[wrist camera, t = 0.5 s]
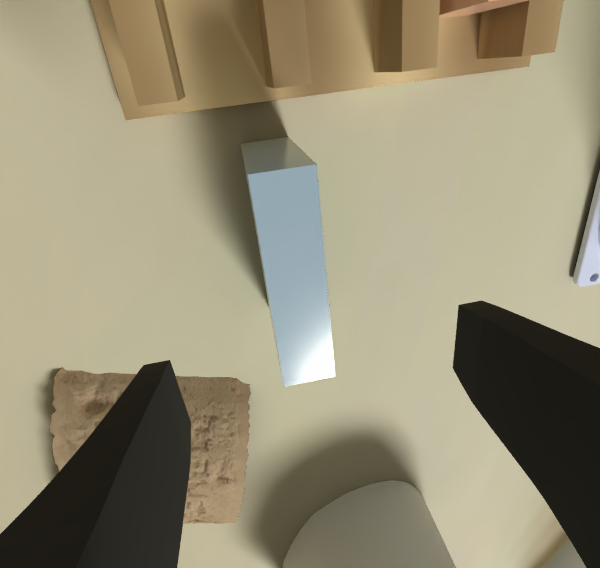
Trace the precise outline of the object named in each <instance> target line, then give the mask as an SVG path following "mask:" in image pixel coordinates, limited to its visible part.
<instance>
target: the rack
mask: <svg viewBox="0 0 600 568" xmlns="http://www.w3.org/2000/svg"><path fill="white" fill-rule="evenodd" d="M563 1H564V0H528V1H524V2H520V3H516V4H512V5H508V6H504V7H500V8H496V9H492V10H488V11H484V12H479V13H475V14H471V15H466V16H457V17H449V18H440V19H439V11H440V0H90V2H91V5H92V8H93V12H94V15H95V18H96V22H97V25H98V29H99V32H100V35H101V39H102V42H103V45H104V49H105V52H106V55H107V59H108V62H109V66H110V69H111V72H112V76H113V79H114V82H115V86H116V89H117V92H118V96H119V99H120V103H121V106H122V109H123V113H124V116H125V119H126V120H130V119H137V118H145V117H152V116H160V115H167V114H175V113H182V112H190V111H197V110H205V109H212V108H220V107H228V106H235V105H243V104H250V103H258V102H265V101H273V100H280V99H288V98H295V97H303V96H310V95H318V94H325V93H333V92H340V91H348V90H355V89H363V88H370V87H378V86H385V85H393V84H400V83H408V82H416V81H423V80H431V79H438V78H446V77H453V76H461V75H468V74H476V73H483V72H491V71H498V70H506V69H513V68H521V67H528V66H529V64H530V57H531V55H536V54H544V53H552V52H555V48H556V42H557V36H558V30H559V24H560V19H561V13H562V7H563Z"/></svg>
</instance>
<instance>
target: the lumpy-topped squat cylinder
mask: <svg viewBox="0 0 600 568" xmlns="http://www.w3.org/2000/svg"><path fill="white" fill-rule="evenodd" d="M283 568H456V567H455V565H454V563H453V560H452V558H451V556H450V554H449V552H448V550H447V548H446V545H445V543H444V541H443V539H442V537H441V535H440V533H439V531H438V528H437V526H436V524H435V522H434V520H433V518H432V516H431V514H430V511H429V509H428V507H427V505H426V503H425V501H424V499H423V497H422V495H421V494H420V492H419V491H418V490H417V489H416V488H415V487H414V486H413V485H411V484H409V483H407V482H403V481H394V480H391V481H382V482H377V483H373V484H369V485H366V486H363V487H360V488H358V489H355V490H352V491H350V492H348V493H346V494H344V495H342V496H341V497H339V498H337V499H336V500H334V501H332V502H331V503H329V504H328V505H326V506H324V507H323V508H321V509H320V510H319V511H317V512H316V513H314V514H313V515H312V516H311V517H310V518H309V519H308V521H307V522H306V523H305V524H304V526H303V527H302V529H301V530H300V531H299V533H298V534H297V536H296V538H295V539H294V541H293V542H292V544H291V546H290V548H289V551H288V553H287V555H286V557H285V559H284V562H283Z"/></svg>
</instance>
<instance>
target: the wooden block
mask: <svg viewBox="0 0 600 568" xmlns="http://www.w3.org/2000/svg"><path fill="white" fill-rule="evenodd" d="M524 1H528V0H440V11H439V19H440V18H449V17H457V16H466V15H471V14H475V13H479V12H484V11H488V10H492V9H496V8H500V7H504V6H508V5H512V4H516V3H520V2H524Z"/></svg>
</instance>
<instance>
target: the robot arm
mask: <svg viewBox="0 0 600 568" xmlns="http://www.w3.org/2000/svg"><path fill="white" fill-rule="evenodd" d="M573 282H574V283H575V284H577V285H578V286H580V287H584V286H589V285H594V284H599V283H600V171H599V175H598V179H597V183H596V187H595V191H594V195H593V199H592V203H591V207H590V211H589V215H588V219H587V223H586V227H585V232H584V236H583V240H582V244H581V248H580V252H579V256H578V260H577V264H576V268H575V272H574V276H573ZM453 369H454V371H455V373H456V375H457V377H458V378H459V380H460V382H461V384H462V386H463V387H464V389H465V391H466V393H467V394H468V396H469V398H470V399H471V401H472V403H473V404H474V405H475V407H476V408H477V409H478V411H479V412H480V414H481V415H482V416H483V418H484V419H485V420H486V422H487V423H488V424H489V426H490V427H491V428H492V430H493V431H494V432H495V433H496V435H497V436H498V437H499V439H500V440H501V441H502V443H503V444H504V445H505V447H506V448H507V449H508V451H509V452H510V453H511V454H512V456H513V457H514V458H515V460H516V461H517V462H518V464H519V465H520V466H521V468H522V469H523V470H524V471H525V473H526V474H527V475H528V477H529V478H530V479H531V481H532V482H533V484H534V485H535V486H536V488H537V489H538V491H539V492H540V493H541V495H542V496H543V498H544V499H545V501H546V502H547V504H548V505H549V507H550V509H551V510H552V512H553V513H554V515H555V517H556V518H557V520H558V521H559V523H560V525H561V526H562V528H563V529H564V531H565V533H566V534H567V536H568V537H569V539H570V541H571V542H572V544H573V545H574V547H575V549H576V551H577V552H578V554H579V556H580V557H581V559H582V561H583V562H584V564H585V566H586V567H587V568H600V348H598V347H595V346H593V345H590V344H588V343H585V342H583V341H580V340H577V339H575V338H573V337H570V336H568V335H565V334H563V333H560V332H558V331H556V330H553V329H551V328H548V327H546V326H544V325H541V324H539V323H537V322H534V321H532V320H529V319H527V318H525V317H522V316H520V315H518V314H515V313H513V312H510V311H508V310H506V309H503V308H501V307H498V306H495V305H493V304H490V303H487V302H484V301H477V302H472V303H467V304H462V305H459V308H458V319H457V330H456V340H455V351H454V361H453ZM190 464H191V421H190V418H189V415H188V412H187V409H186V406H185V403H184V400H183V397H182V394H181V391H180V388H179V385H178V382H177V379H176V376H175V374H174V371H173V368H172V365H171V362H170V360H168V361H163V362H158V363H153V364H147V365H144V366H143V367H142V368H141V369H140V371H139V372H138V373H137V375H136V376H135V377H134V378H133V380H132V381H131V382H130V384H129V385H128V386H127V388H126V389H125V390H124V392H123V393H122V394H121V396H120V397H119V398H118V400H117V401H116V402H115V404H114V405H113V406H112V408H111V409H110V410H109V412H108V413H107V414H106V416H105V417H104V418H103V419H102V421H101V422H100V423H99V424H98V426H97V427H96V428H95V430H94V431H93V432H92V433H91V435H90V436H89V437H88V439H87V440H86V441H85V442H84V443H83V444H82V446H81V447H80V448H79V449H78V450H77V451H76V453H75V454H74V455H73V456H72V457H71V459H70V460H69V461H68V462H67V463H66V464H65V466H64V467H63V468H62V469H61V470H60V472H59V473H58V474H57V475H56V476H55V477H54V479H53V480H52V481H51V482H50V483H49V484H48V485H47V486H46V487H45V488H44V490H43V491H42V492H41V493H40V494H39V495H38V496H37V497H36V498H35V499H34V500H33V501H32V502H31V503H30V505H29V506H28V507H27V508H26V509H25V510H24V511H23V512H22V513H21V514H20V515H19V516H18V517H17V518H16V519H15V520H14V521H13V522H12V523H11V524H10V525H9V526H8V527H7V528H6V529H5V530H4V531H3V532H2V533H1V534H0V568H177V564H178V556H179V549H180V541H181V534H182V526H183V519H184V511H185V504H186V496H187V488H188V480H189V473H190Z"/></svg>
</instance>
